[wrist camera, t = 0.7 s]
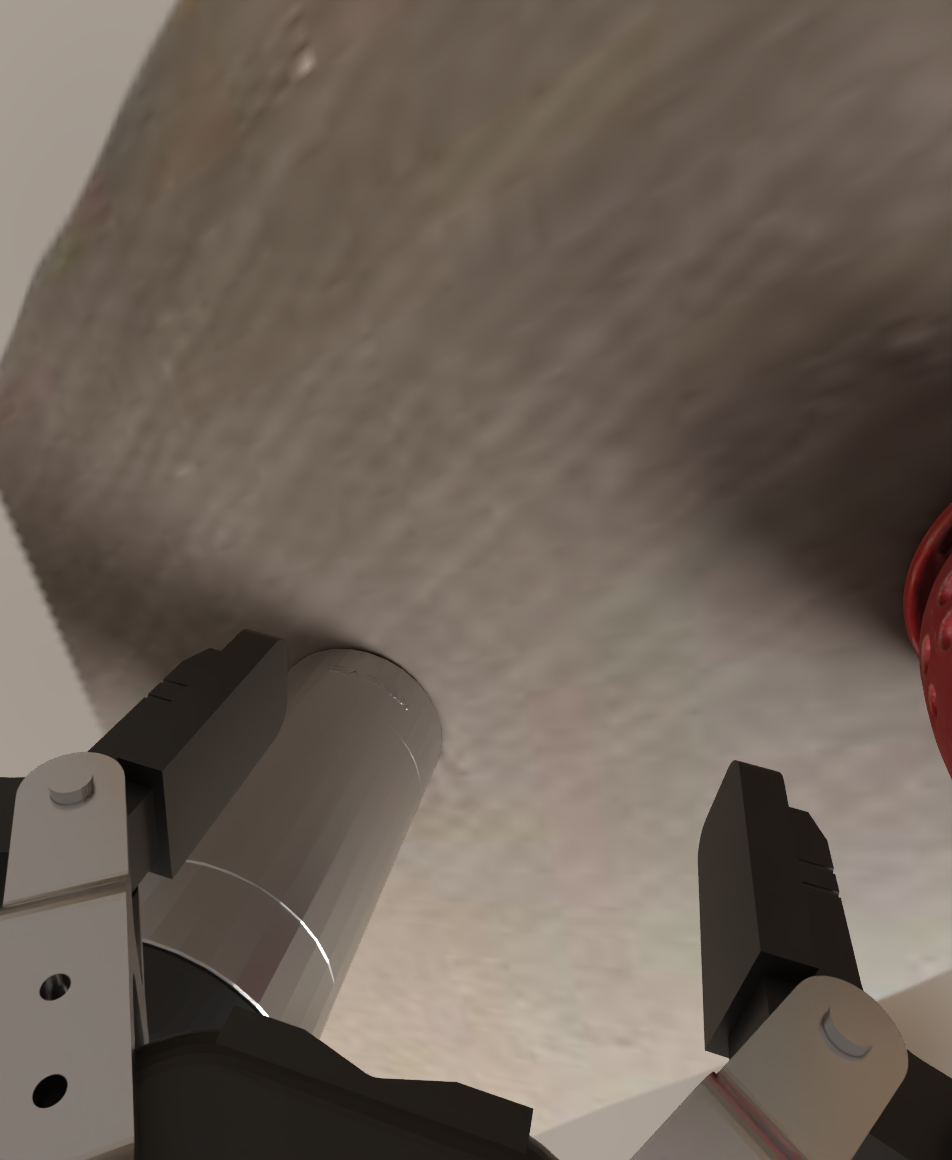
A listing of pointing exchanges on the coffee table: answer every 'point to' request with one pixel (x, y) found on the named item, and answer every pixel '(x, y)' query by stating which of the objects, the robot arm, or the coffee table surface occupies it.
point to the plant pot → (933, 625)
